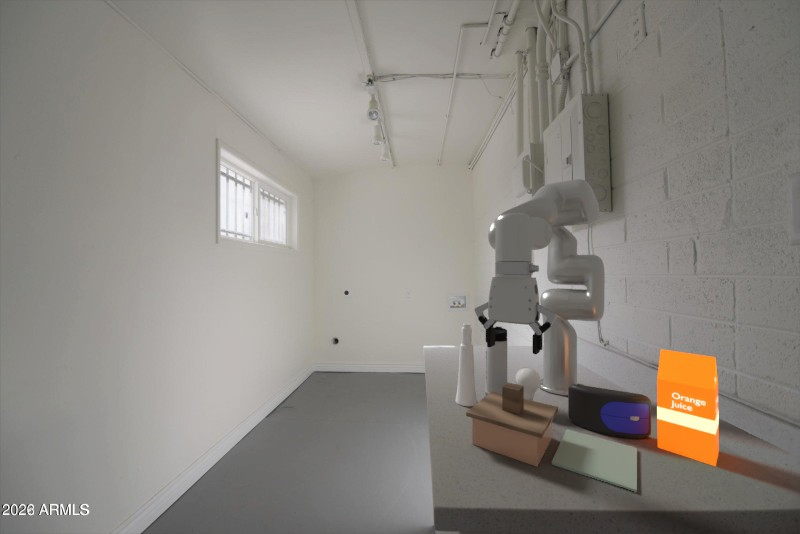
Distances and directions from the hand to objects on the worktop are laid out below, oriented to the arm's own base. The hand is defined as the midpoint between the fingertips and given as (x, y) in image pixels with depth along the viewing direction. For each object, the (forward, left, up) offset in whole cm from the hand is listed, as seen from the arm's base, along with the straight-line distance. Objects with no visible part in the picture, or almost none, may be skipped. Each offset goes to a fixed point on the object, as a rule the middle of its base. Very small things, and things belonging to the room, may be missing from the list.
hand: (512, 349), depth 69 cm
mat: (-4, +15, -20) cm, 25 cm away
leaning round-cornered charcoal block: (-19, +16, -20) cm, 32 cm away
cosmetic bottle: (-13, -17, -20) cm, 29 cm away
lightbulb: (-19, -2, -20) cm, 28 cm away
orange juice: (-19, +30, -20) cm, 41 cm away
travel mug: (-23, -12, -20) cm, 33 cm away
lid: (0, 0, -14) cm, 14 cm away
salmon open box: (0, 0, -20) cm, 20 cm away
